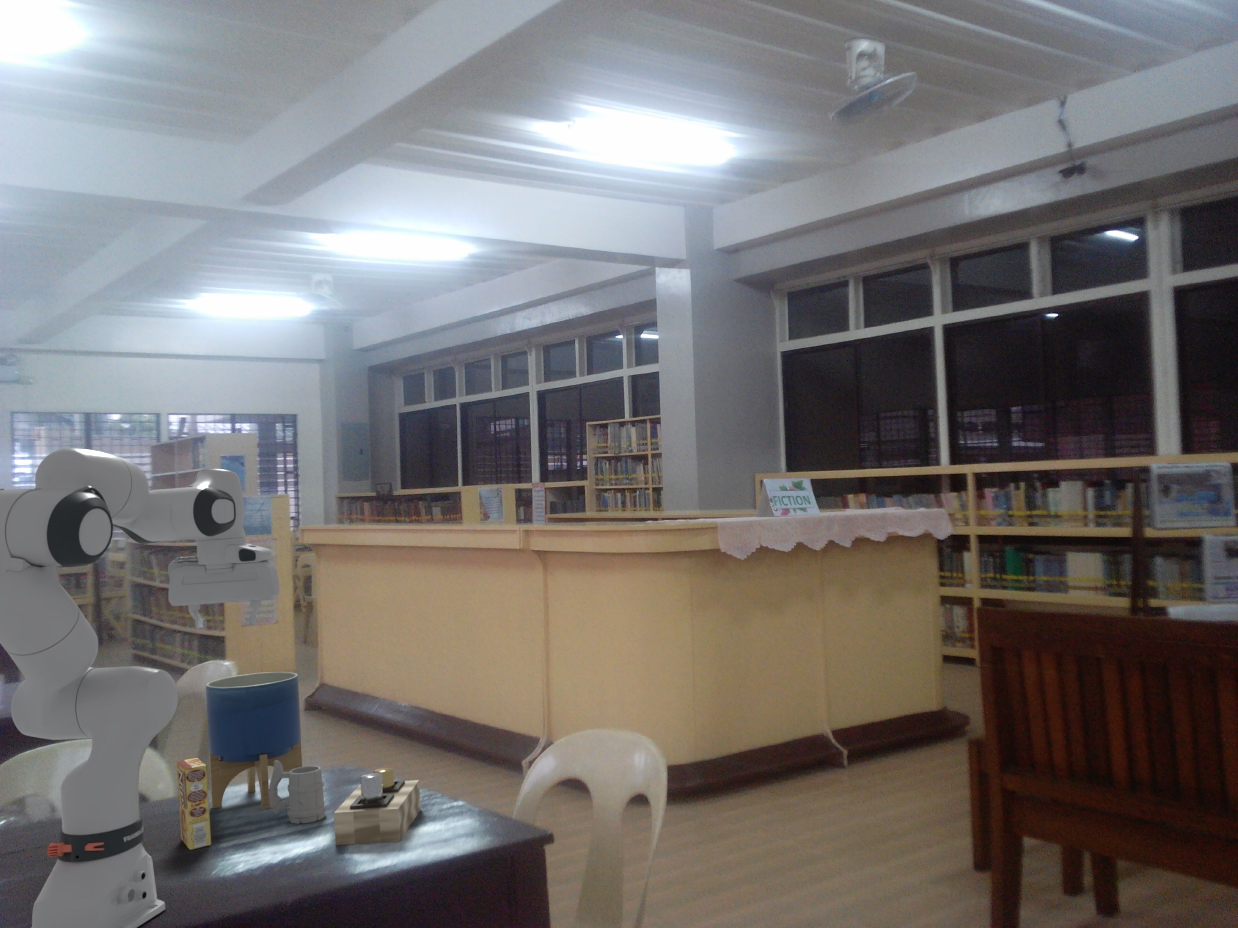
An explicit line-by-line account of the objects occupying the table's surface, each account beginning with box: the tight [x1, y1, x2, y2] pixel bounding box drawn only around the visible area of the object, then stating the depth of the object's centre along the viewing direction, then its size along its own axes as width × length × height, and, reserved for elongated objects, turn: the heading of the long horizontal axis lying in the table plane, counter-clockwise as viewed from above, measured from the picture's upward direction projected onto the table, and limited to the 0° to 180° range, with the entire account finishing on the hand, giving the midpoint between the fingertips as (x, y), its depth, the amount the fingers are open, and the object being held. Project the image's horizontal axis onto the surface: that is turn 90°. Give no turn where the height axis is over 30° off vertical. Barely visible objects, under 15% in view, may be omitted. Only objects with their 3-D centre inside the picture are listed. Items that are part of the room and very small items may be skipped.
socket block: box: [333, 779, 422, 846], centre depth 204 cm, size 20×12×7 cm, turn 0°
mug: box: [268, 760, 327, 825], centre depth 214 cm, size 8×12×12 cm, turn 85°
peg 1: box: [359, 772, 383, 804], centre depth 200 cm, size 4×4×6 cm
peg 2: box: [372, 767, 395, 789], centre depth 209 cm, size 4×4×6 cm
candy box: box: [176, 757, 212, 851], centre depth 202 cm, size 9×4×15 cm, turn 33°
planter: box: [205, 671, 303, 811], centre depth 231 cm, size 19×19×26 cm
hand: (226, 626), depth 199 cm, fingers open, 8 cm apart
